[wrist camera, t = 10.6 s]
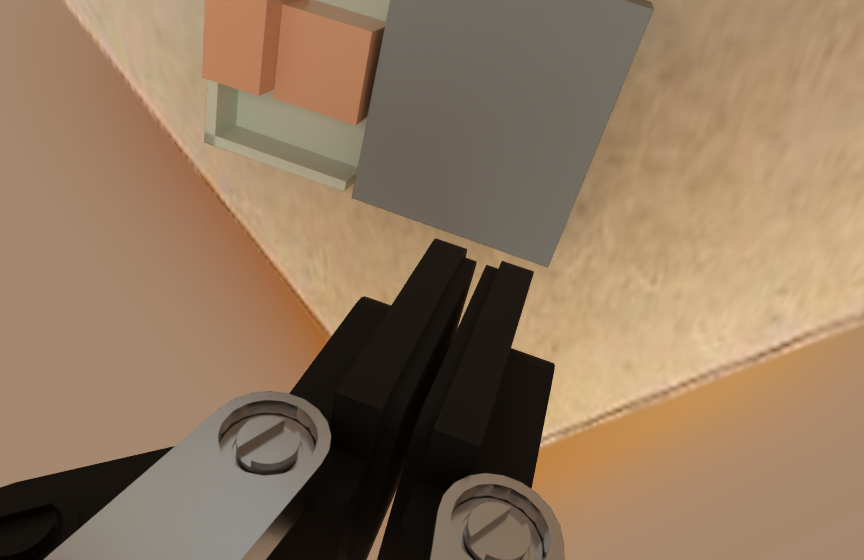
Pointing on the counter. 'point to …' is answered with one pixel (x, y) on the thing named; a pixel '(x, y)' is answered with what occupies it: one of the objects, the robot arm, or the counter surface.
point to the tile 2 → (327, 59)
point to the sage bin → (289, 126)
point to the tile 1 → (242, 43)
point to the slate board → (494, 113)
